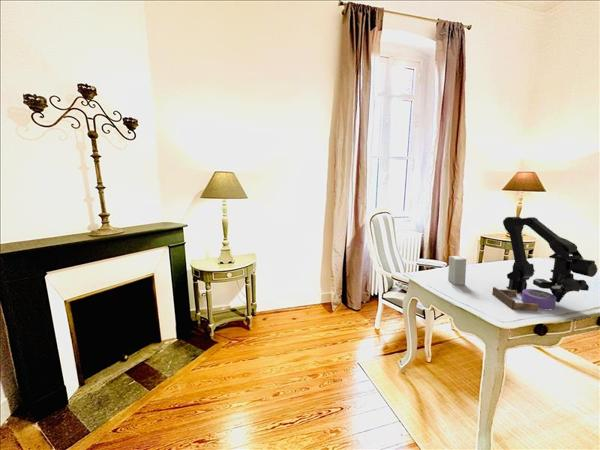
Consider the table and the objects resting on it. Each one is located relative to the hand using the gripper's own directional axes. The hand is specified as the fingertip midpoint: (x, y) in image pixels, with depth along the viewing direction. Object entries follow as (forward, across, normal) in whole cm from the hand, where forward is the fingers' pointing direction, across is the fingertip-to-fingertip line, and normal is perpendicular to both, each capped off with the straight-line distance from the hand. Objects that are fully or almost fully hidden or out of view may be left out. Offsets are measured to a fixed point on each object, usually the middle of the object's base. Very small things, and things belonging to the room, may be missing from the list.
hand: (557, 302), depth 121 cm
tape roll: (+2, -8, 0) cm, 8 cm away
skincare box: (+1, -34, +24) cm, 42 cm away
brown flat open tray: (+1, -18, 0) cm, 18 cm away
